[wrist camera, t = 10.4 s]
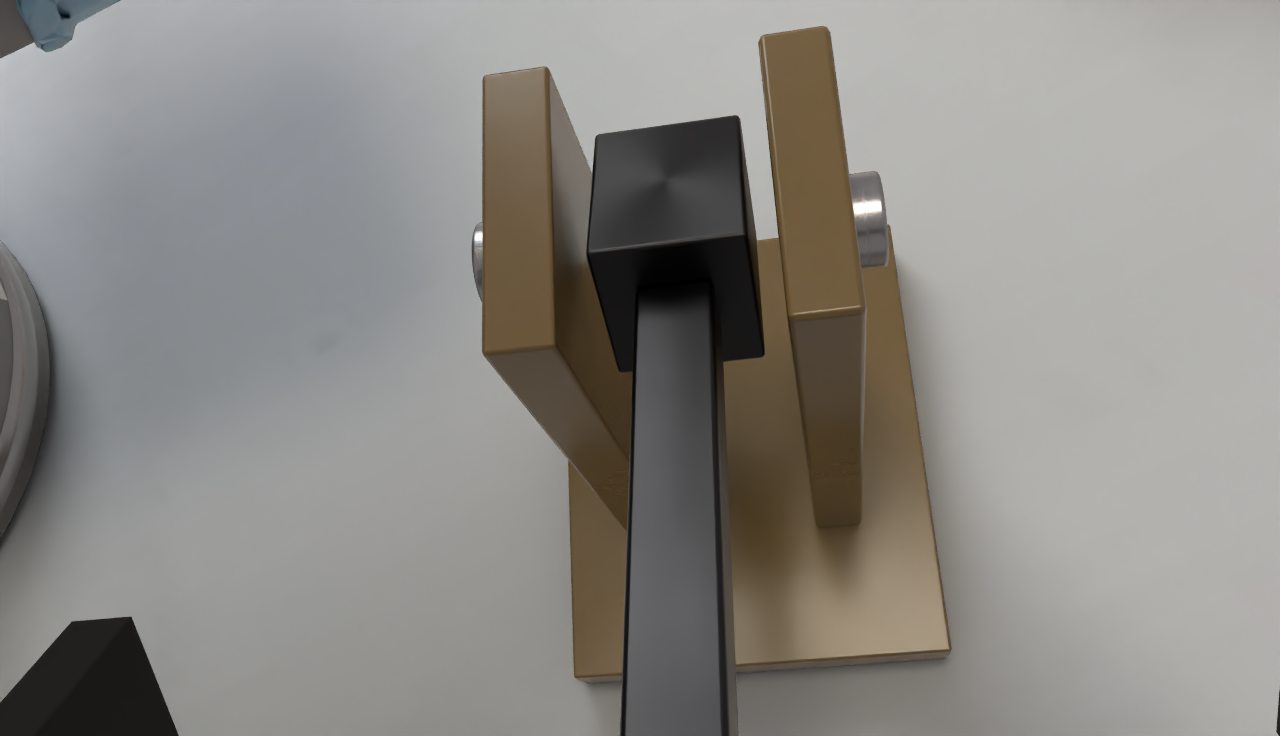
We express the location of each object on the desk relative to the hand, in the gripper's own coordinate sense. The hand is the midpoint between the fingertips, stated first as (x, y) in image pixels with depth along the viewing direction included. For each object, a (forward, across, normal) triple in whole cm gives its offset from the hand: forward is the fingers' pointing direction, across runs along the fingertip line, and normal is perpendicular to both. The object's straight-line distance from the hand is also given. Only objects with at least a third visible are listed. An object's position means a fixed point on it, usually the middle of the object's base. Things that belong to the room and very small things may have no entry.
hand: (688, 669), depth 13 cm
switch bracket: (+14, 0, -5) cm, 15 cm away
